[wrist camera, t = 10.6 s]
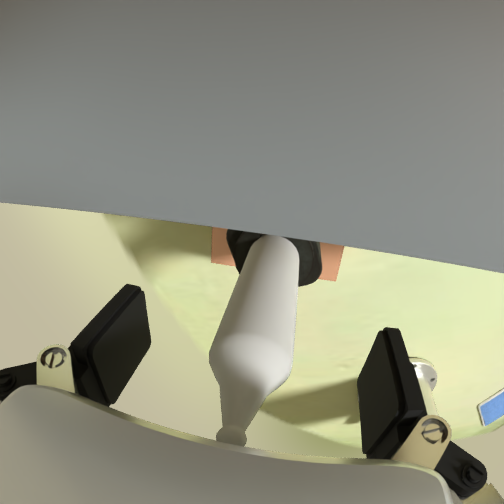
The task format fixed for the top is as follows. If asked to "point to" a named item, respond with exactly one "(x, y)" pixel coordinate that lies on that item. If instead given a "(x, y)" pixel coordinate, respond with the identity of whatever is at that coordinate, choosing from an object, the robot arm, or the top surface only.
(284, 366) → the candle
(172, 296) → the top surface
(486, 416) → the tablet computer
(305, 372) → the top surface
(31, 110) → the brown board grey top
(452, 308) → the top surface
